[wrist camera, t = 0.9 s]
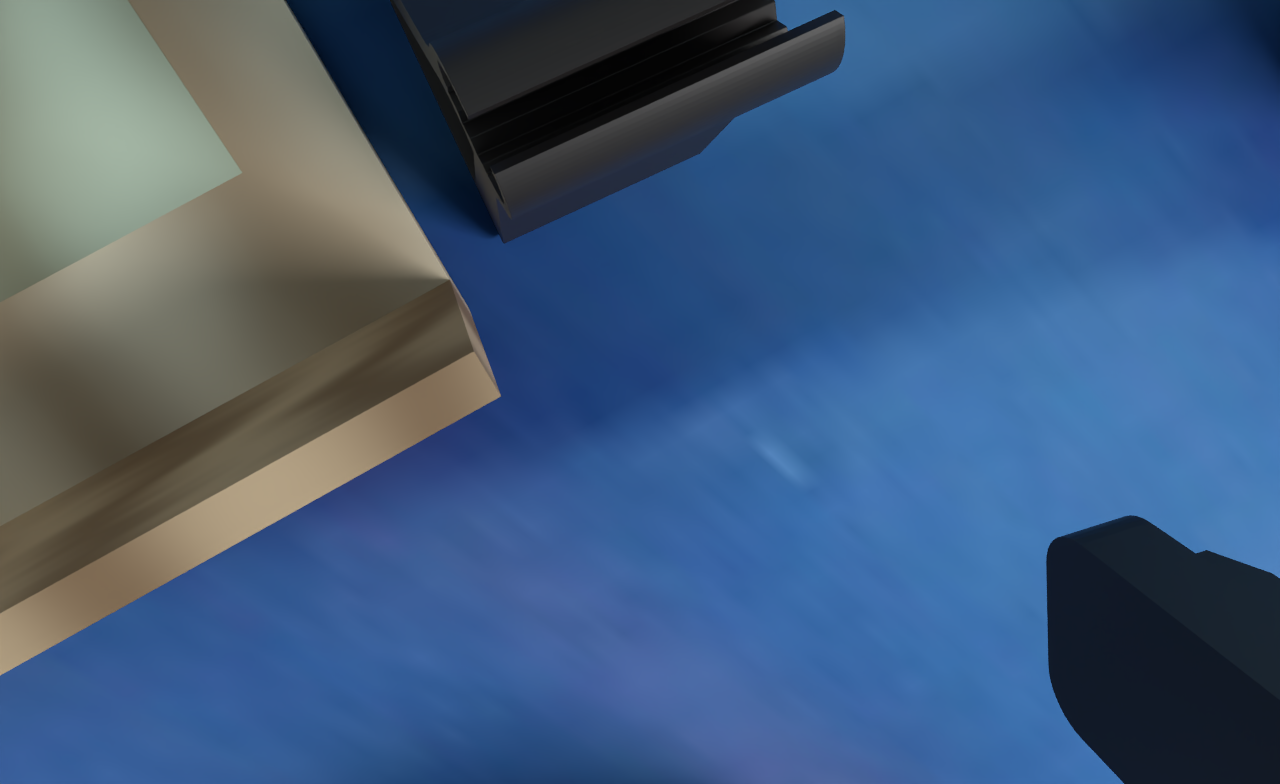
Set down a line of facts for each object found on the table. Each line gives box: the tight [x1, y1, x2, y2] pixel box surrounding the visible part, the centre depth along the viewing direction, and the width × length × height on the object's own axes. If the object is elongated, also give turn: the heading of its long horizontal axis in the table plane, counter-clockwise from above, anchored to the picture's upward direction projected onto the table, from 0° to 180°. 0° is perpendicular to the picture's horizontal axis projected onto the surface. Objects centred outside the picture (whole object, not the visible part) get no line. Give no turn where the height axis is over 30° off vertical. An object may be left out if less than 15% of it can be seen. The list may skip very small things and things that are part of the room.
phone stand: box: [390, 0, 845, 243], centre depth 20 cm, size 9×6×12 cm, turn 21°
